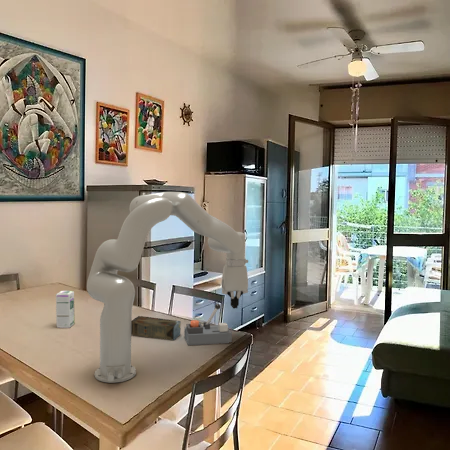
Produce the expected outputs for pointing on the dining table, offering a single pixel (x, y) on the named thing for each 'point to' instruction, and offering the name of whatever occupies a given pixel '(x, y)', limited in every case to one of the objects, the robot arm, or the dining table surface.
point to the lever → (213, 313)
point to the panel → (206, 335)
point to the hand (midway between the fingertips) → (234, 307)
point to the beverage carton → (155, 328)
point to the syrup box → (65, 309)
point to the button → (194, 323)
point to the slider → (222, 327)
